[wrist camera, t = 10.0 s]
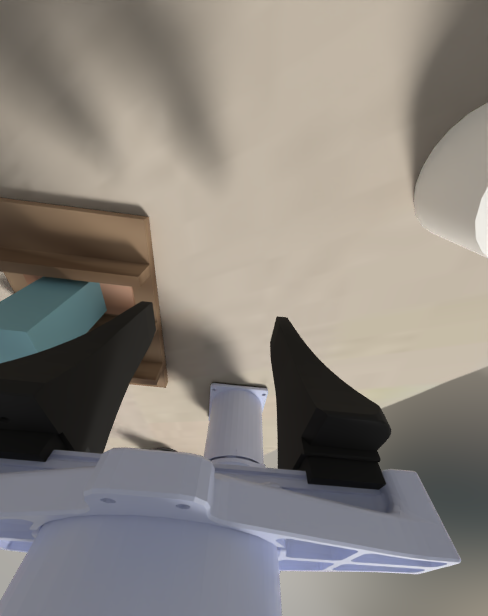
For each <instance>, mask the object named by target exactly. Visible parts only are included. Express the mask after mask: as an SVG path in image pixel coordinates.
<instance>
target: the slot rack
mask: <svg viewBox="0 0 488 616" xmlns="http://www.w3.org/2000/svg"><path fill="white" fill-rule="evenodd" d="M0 271H1V272H4V274H5V276H6V278H7V280H8V282H9V284H10V285H11V287H12V289H13V291H14V293H16V292H18V291H19V290H21V289H23V288H24V287H26V286H28V285H29V284H31V283H33V282H34V281H36V280H38V279H40V278H41V277H43V276H44V277H52V278H61V279H70V280H78V281H87V282H96V283H100V287H101V291H102V294H103V298H104V301H105V305H106V309H107V311H106V312H105V313H104V314H103V315H102V317H101V318H100V319H99V320H98V321H97V322H96V323H95V324H94V325H93V326H92V327H91V329H90V330H89V331H88V332H90V331H92V330H94V329H96V328H97V327H99V326H101V325H103V324H105V323H106V322H108V321H110V320H112V319H113V318H115V317H117V316H118V315H120V314H121V313H123V312H125V311H126V310H128V309H129V308H131V307H133V306H134V305H136V304H138V303H139V302H141V301H145V302H152V303H153V310H154V317H155V325H156V332H155V334H154V337H153V340H152V342H151V345H150V347H149V348H148V350H147V352H146V354H145V356H144V358H143V359H142V361H141V363H140V365H139V367H138V368H137V370H136V372H135V374H134V375H133V377H132V379H131V381H130V383H129V384H133V385H143V386H153V387H164V388H166V386H167V383H168V377H167V369H166V360H165V352H164V343H163V335H162V326H161V318H160V309H159V301H158V292H157V284H156V275H155V267H154V258H153V250H152V241H151V233H150V224H149V217H147V216H139V215H131V214H123V213H116V212H108V211H100V210H92V209H85V208H77V207H69V206H61V205H54V204H46V203H38V202H30V201H22V200H15V199H7V198H0ZM88 332H87V333H88Z"/></svg>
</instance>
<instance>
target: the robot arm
mask: <svg viewBox="0 0 488 616" xmlns="http://www.w3.org/2000/svg"><path fill="white" fill-rule="evenodd" d="M155 332H156V325H155V317H154V310H153V303H152V302H145V301H141V302H139V303H138V304H136V305H134V306H133V307H131V308H129V309H128V310H126V311H125V312H123V313H121V314H120V315H118V316H117V317H115V318H113V319H112V320H110V321H108V322H106V323H105V324H103V325H101V326H99V327H97V328H96V329H94V330H92V331H90V332H88V333H86V334H84V335H81V336H79V337H77V338H75V339H72V340H70V341H68V342H65V343H62V344H60V345H57V346H55V347H52V348H50V349H47V350H44V351H41V352H38V353H35V354H32V355H28V356H25V357H22V358H18V359H15V360H11V361H7V362H3V363H0V549H1V550H10V551H19V552H26V553H27V554H26V556H25V558H24V559H23V561H22V563H21V565H20V567H19V568H18V570H17V572H16V574H15V575H14V577H13V579H12V581H11V583H10V584H9V586H8V588H7V590H6V591H5V593H4V595H3V597H2V599H1V600H0V616H282V609H281V593H280V578H279V574H280V572H281V571H344V572H345V571H346V572H348V571H349V572H386V573H407V574H420V573H424V572H428V571H432V570H435V569H439V568H443V567H447V566H451V565H454V564H458V563H460V562H461V559H460V556H459V554H458V552H457V550H456V549H455V547H454V545H453V543H452V541H451V539H450V537H449V535H448V533H447V531H446V529H445V527H444V525H443V523H442V521H441V519H440V517H439V515H438V514H437V512H436V510H435V508H434V506H433V504H432V502H431V500H430V498H429V496H428V494H427V492H426V490H425V488H424V486H423V484H422V482H421V480H420V478H419V476H418V475H417V473H416V472H414V471H407V470H396V469H386V470H382V471H381V469H380V467H379V465H378V462H380V457H379V454H378V452H377V450H378V449H379V448H380V447H381V446H382V445H383V444H384V443H385V442H386V440H387V439H388V438H389V436H390V434H391V428H390V426H389V424H388V422H387V420H386V418H385V416H384V414H383V412H382V410H381V408H380V407H379V405H377V404H375V403H374V402H372V401H371V400H369V399H368V398H366V397H365V396H363V395H361V394H360V393H358V392H357V391H356V390H354V389H353V388H352V387H350V386H349V385H348V384H346V383H345V382H344V381H342V380H341V379H340V378H339V377H338V376H336V375H335V374H334V373H333V372H332V371H331V370H330V369H328V368H327V367H326V366H325V365H324V364H323V363H322V362H321V361H320V360H319V359H318V358H317V357H316V356H315V354H314V353H313V352H312V351H311V350H310V349H309V347H308V346H307V345H306V344H305V342H304V341H303V340H302V338H301V337H300V336H299V334H298V333H297V331H296V330H295V328H294V327H293V325H292V324H291V322H290V321H289V320H288V318H286V317H277V318H276V322H275V326H274V330H273V334H272V338H271V342H270V352H271V364H272V371H273V377H274V384H275V391H276V403H277V431H278V469H274V468H265V464H264V461H263V433H262V412H263V408H264V405H265V401H266V398H267V395H268V389H266V388H258V387H248V386H238V385H228V384H218V383H212V384H211V387H210V406H209V426H208V433H207V439H206V445H205V451H204V457H203V456H201V455H196V454H191V453H183V452H172V451H160V450H149V449H137V448H113V449H111V450H108V451H106V452H104V449H105V446H106V443H107V440H108V437H109V434H110V431H111V429H112V426H113V423H114V420H115V418H116V415H117V412H118V410H119V407H120V405H121V402H122V400H123V397H124V395H125V393H126V390H127V388H128V386H129V383H130V381H131V379H132V377H133V375H134V374H135V372H136V370H137V368H138V367H139V365H140V363H141V361H142V359H143V358H144V356H145V354H146V352H147V350H148V348H149V347H150V345H151V342H152V340H153V337H154V334H155ZM103 452H104V453H103Z"/></svg>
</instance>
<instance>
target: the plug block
mask: <svg viewBox="0 0 488 616" xmlns="http://www.w3.org/2000/svg"><path fill="white" fill-rule="evenodd" d="M106 311H107V309H106V305H105V301H104V298H103V294H102V291H101V287H100V283H96V282H87V281H78V280H70V279H61V278H52V277H44V276H43V277H41V278H40V279H38V280H36V281H34V282H33V283H31V284H29V285H28V286H26V287H24V288H23V289H21V290H19V291H18V292H16V293H14V294H13V295H11V296H9V297H7V298H6V299H4V300H2V301H1V302H0V363H3V362H7V361H11V360H15V359H18V358H22V357H25V356H28V355H32V354H35V353H38V352H41V351H44V350H47V349H50V348H52V347H55V346H57V345H60V344H62V343H65V342H68V341H70V340H72V339H75V338H77V337H79V336H81V335H84V334H86V333H87V332H88V331H89V330H90V329H91V327H92V326H93V325H94V324H95V323H96V322H97V321H98V320H99V319H100V318H101V317H102V315H103V314H104V313H105V312H106Z"/></svg>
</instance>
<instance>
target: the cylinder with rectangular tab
mask: <svg viewBox="0 0 488 616" xmlns="http://www.w3.org/2000/svg"><path fill="white" fill-rule="evenodd" d="M413 202H414V208H415V215H416V217H417V218H418V220H419V222H420V224H421V225H422V226H423V227H424V228H425V229H427V230H428V231H429V232H431V233H433V234H435V235H437V236H439V237H441V238H444V239H446V240H448V241H450V242H453V243H455V244H457V245H459V246H461V247H464V248H466V249H468V250H470V251H473V252H475V253H477V254H479V255H481V256H484V257H486V258H488V103H486V104H484V105H482V106H481V107H479V108H477V109H475V110H474V111H472V112H470V113H469V114H467V115H466V116H465V117H464V118H463V119H462V120H460V121H459V122H458V123H457V124H456V125H454V126H453V127H452V128H451V129H450V130H449V131H448V132H447V133H446V134H445V135H444V137H443V138H442V139H441V140H440V141H439V142H438V144H437V145H436V146H435V147H434V148H433V150H432V152H431V153H430V155H429V157H428V158H427V160H426V162H425V163H424V165H423V167H422V169H421V172H420V175H419V177H418V180H417V183H416V185H415V193H414V201H413Z"/></svg>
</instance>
